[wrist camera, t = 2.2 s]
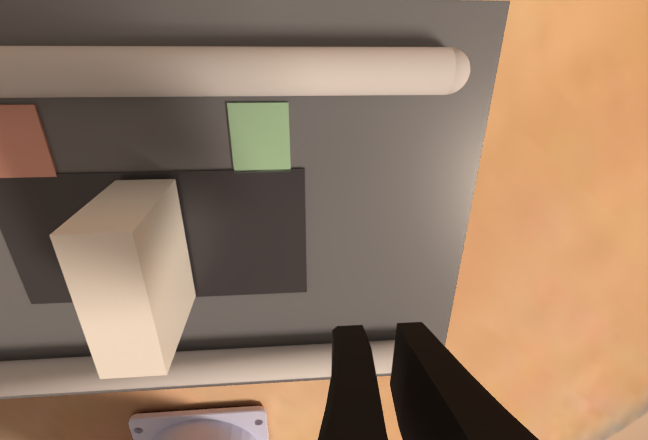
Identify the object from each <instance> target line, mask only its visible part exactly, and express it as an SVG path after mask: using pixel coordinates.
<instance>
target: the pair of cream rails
mask: <svg viewBox="0 0 648 440" xmlns="http://www.w3.org/2000/svg"><path fill="white" fill-rule="evenodd" d="M469 75H470V62H469V59H468V57H467V56H466V54H465V53H464V52H463V51H461V50H460V49H457V48H454V47H247V46H0V98H52V97H203V96H353V95H448V94H452V93H455V92H457V91H458V90H460V89H461V88H462V87H463V86H464V85H465V83H466V82H467V80H468V78H469ZM369 343H370V346H371V349H372V354H373V360H374V365H375V371H376V374H386V373H391V371H392V362H393V353H394V344H395V340H383V341H369ZM331 367H332V343H327V344H309V345H290V346H272V347H253V348H234V349H216V350H197V351H179V352H175V355H174V357H173V360H172V363H171V366H170V368H169V371H168V374H167V375H162V376H145V377H128V378H111V379H100V378H99V375H98V372H97V369H96V366H95V364H94V361H93V358H92V356H86V357H67V358H49V359H30V360H12V361H0V397H5V396H21V395H38V394H54V393H71V392H88V391H104V390H121V389H137V388H154V387H171V386H187V385H204V384H220V383H237V382H254V381H270V380H287V379H303V378H320V377H331Z"/></svg>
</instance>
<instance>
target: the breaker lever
mask: <svg viewBox="0 0 648 440" xmlns="http://www.w3.org/2000/svg"><path fill="white" fill-rule="evenodd" d="M49 236H50V239H51V241H52V244H53V247H54V250H55V253H56V256H57V258H58V261H59V264H60V267H61V270H62V273H63V276H64V278H65V281H66V284H67V287H68V290H69V293H70V295H71V298H72V301H73V304H74V307H75V310H76V312H77V315H78V318H79V321H80V324H81V327H82V329H83V332H84V335H85V338H86V341H87V344H88V347H89V349H90V352H91V355H92V358H93V361H94V364H95V366H96V369H97V372H98V375H99V378H100V379H111V378H128V377H145V376H162V375H167V374H168V371H169V368H170V366H171V363H172V360H173V357H174V355H175V352H176V349H177V346H178V344H179V341H180V338H181V335H182V333H183V330H184V327H185V324H186V322H187V319H188V316H189V313H190V311H191V308H192V305H193V302H194V300H195V297H196V294H195V288H194V283H193V277H192V271H191V266H190V260H189V254H188V249H187V243H186V237H185V231H184V226H183V220H182V214H181V209H180V203H179V197H178V192H177V186H176V180H175V179H148V180H115V181H114V182H113V183H112V184H110V185H109V186H108V187H107V188H106V189H104V190H103V191H102V192H101V193H100V194H98V195H97V196H96V197H95V198H93V199H92V200H91V201H90V202H89V203H87V204H86V205H85V206H84V207H83V208H81V209H80V210H79V211H78V212H77V213H75V214H74V215H73V216H72V217H71V218H69V219H68V220H67V221H66V222H65V223H63V224H62V225H61V226H60V227H58V228H57V229H56V230H55V231H54V232H52V233H51V234H50V235H49Z"/></svg>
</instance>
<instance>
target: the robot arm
mask: <svg viewBox="0 0 648 440" xmlns="http://www.w3.org/2000/svg"><path fill="white" fill-rule="evenodd" d="M390 387H391V392H392V397H393V402H394V407H395V411H396V416H397V421H398V425H399V429H400V432H401V436H402V439H403V440H539V439H538V438H536V437H535V436H534V435H533V434H532V433H531V432H530V431H529V430H528V429H527V428H526V427H524V426H523V425H522V424H521V423H520V422H519V421H518V420H517V419H516V418H515V417H514V416H513V415H511V414H510V413H509V412H508V411H507V410H506V409H505V408H504V407H503V406H502V405H501V404H500V403H499V402H498V401H497V400H496V399H495V398H494V397H493V396H492V395H491V394H490V393H489V392H488V391H487V390H486V389H485V388H484V387H483V386H482V385H481V384H480V383H479V382H478V381H477V380H476V379H475V378H474V377H473V376H472V375H471V374H470V373H469V372H468V371H467V370H466V369H465V368H464V367H463V365H462V364H461V363H460V362H459V361H458V360H457V359H456V358H455V357H454V356H453V355H452V354H451V353H450V352H449V350H448V349H447V348H446V347H445V346H444V345H443V344H442V343H441V342H440V341H439V340H438V338H437V337H436V336H435V335H434V334H433V333H432V332H431V331H430V330H429V329H428V327H427V326H426V325H425V324H424V323H423V322H408V323H397V327H396V335H395V344H394V353H393V362H392V371H391V380H390ZM128 426H129V429H130V432H131V435H132V438H133V440H269V432H268V421H267V411H266V409H265V408H264V407H262V406H247V407H232V408H216V409H201V410H185V411H170V412H155V413H139V414H134V415H132V416H131V417H130V419H129V422H128ZM318 440H388V438H387V433H386V428H385V422H384V416H383V411H382V405H381V399H380V394H379V388H378V382H377V376H376V371H375V365H374V360H373V354H372V349H371V346H370V343H369V340H368V337H367V335H366V332H365V330H364V327H363V325H349V326H337V327H335V328H334V329H333V330H332V367H331V380H330V386H329V392H328V398H327V403H326V408H325V413H324V417H323V421H322V425H321V429H320V433H319V437H318Z"/></svg>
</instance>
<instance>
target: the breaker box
mask: <svg viewBox="0 0 648 440" xmlns="http://www.w3.org/2000/svg"><path fill="white" fill-rule="evenodd" d="M509 4H510V1H483V0H0V46H247V47H454V48H457V49H460V50H461V51H463V52H464V53H465V54H466V56H467V57H468V59H469V62H470V75H469V78H468V80H467V82H466V83H465V85H464V86H463V87H462V88H461V89H460V90H458V91H457V92H455V93H452V94H448V95H353V96H203V97H52V98H0V361H12V360H30V359H49V358H67V357H86V356H92V355H91V352H90V349H89V347H88V344H87V341H86V338H85V335H84V332H83V329H82V327H81V324H80V321H79V318H78V315H77V312H76V310H75V307H74V304H73V301H72V298H71V295H70V293H69V290H68V287H67V284H66V281H65V278H64V276H63V273H62V270H61V267H60V264H59V261H58V258H57V256H56V253H55V250H54V247H53V244H52V241H51V239H50V236H49V235H50V234H51V233H52V232H54V231H55V230H56V229H57V228H58V227H60V226H61V225H62V224H63V223H65V222H66V221H67V220H68V219H69V218H71V217H72V216H73V215H74V214H75V213H77V212H78V211H79V210H80V209H81V208H83V207H84V206H85V205H86V204H87V203H89V202H90V201H91V200H92V199H93V198H95V197H96V196H97V195H98V194H100V193H101V192H102V191H103V190H104V189H106V188H107V187H108V186H109V185H110V184H112V183H113V182H114V181H115V180H148V179H175V180H176V186H177V192H178V197H179V203H180V209H181V214H182V220H183V226H184V231H185V237H186V243H187V249H188V254H189V260H190V266H191V271H192V277H193V283H194V288H195V294H196V297H195V300H194V302H193V305H192V308H191V311H190V313H189V316H188V319H187V322H186V324H185V327H184V330H183V333H182V335H181V338H180V341H179V344H178V346H177V349H176V352H179V351H197V350H216V349H234V348H253V347H272V346H290V345H309V344H327V343H332V330H333V329H334V328H335V327H337V326H349V325H363V327H364V330H365V332H366V335H367V337H368V340H369V341H383V340H395V335H396V327H397V323H408V322H423V323H424V324H425V325H426V326H427V327H428V329H429V330H430V331H431V332H432V333H433V334H434V335H435V336H436V337H437V338H438V340H439V341H440V342H441V343H442V344H443V345H444V346H445V342H446V337H447V332H448V327H449V321H450V316H451V311H452V305H453V300H454V295H455V290H456V284H457V279H458V274H459V268H460V263H461V258H462V253H463V247H464V242H465V237H466V231H467V226H468V221H469V216H470V210H471V205H472V200H473V194H474V189H475V184H476V179H477V173H478V168H479V163H480V157H481V152H482V147H483V142H484V136H485V131H486V126H487V120H488V115H489V110H490V105H491V99H492V94H493V89H494V83H495V78H496V73H497V68H498V62H499V57H500V52H501V46H502V41H503V36H504V31H505V25H506V20H507V15H508V9H509ZM376 376H391V373H386V374H376ZM326 379H331V377H320V378H303V379H287V380H270V381H254V382H237V383H220V384H204V385H187V386H171V387H154V388H137V389H121V390H104V391H88V392H71V393H54V394H38V395H21V396H5V397H0V399H13V398H29V397H46V396H62V395H79V394H95V393H112V392H128V391H145V390H161V389H177V388H194V387H210V386H227V385H243V384H260V383H276V382H293V381H309V380H326Z"/></svg>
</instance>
